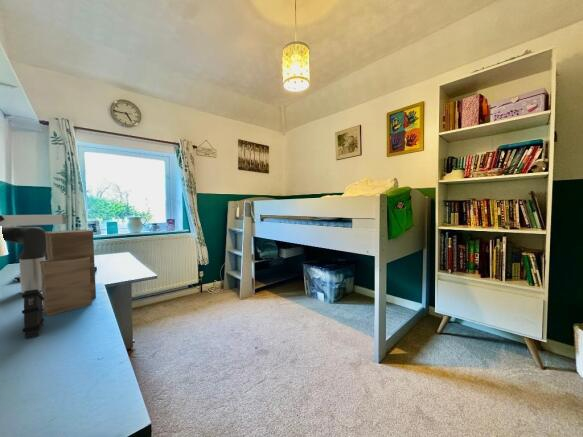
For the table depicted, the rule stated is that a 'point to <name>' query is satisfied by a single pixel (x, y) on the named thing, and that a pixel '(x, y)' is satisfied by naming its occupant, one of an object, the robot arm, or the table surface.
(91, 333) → the table surface
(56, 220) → the bar
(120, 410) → the table surface
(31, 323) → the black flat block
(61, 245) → the wooden plank crate
